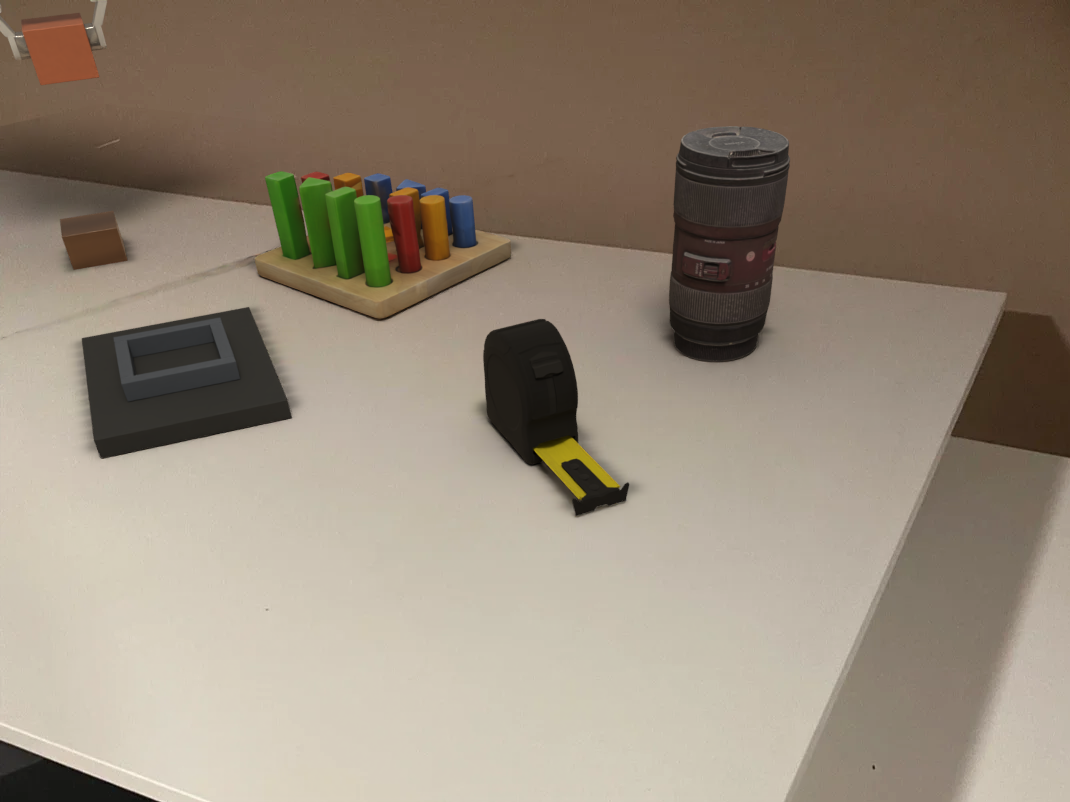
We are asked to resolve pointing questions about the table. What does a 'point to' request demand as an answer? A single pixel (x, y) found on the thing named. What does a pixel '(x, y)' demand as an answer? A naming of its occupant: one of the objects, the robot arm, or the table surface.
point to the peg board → (373, 240)
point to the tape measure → (543, 408)
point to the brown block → (93, 240)
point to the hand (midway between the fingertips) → (61, 53)
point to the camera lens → (725, 238)
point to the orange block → (59, 48)
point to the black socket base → (180, 382)
